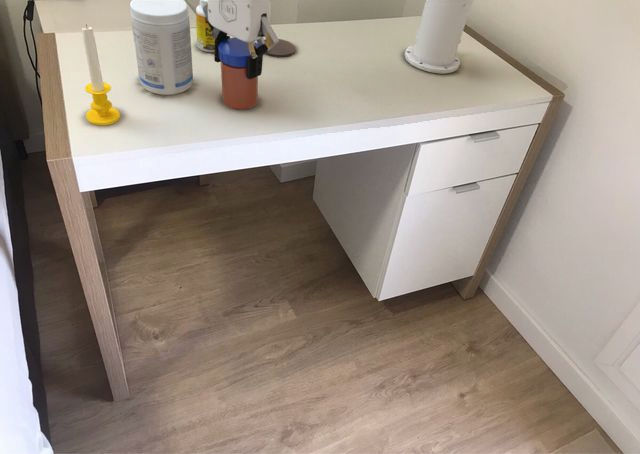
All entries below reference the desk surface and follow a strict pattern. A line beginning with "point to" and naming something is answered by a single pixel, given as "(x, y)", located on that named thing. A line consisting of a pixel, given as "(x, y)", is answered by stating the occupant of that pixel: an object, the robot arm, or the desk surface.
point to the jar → (238, 87)
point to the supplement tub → (162, 45)
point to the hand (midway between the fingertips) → (237, 67)
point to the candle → (97, 85)
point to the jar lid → (234, 52)
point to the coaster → (282, 49)
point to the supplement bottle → (204, 30)
